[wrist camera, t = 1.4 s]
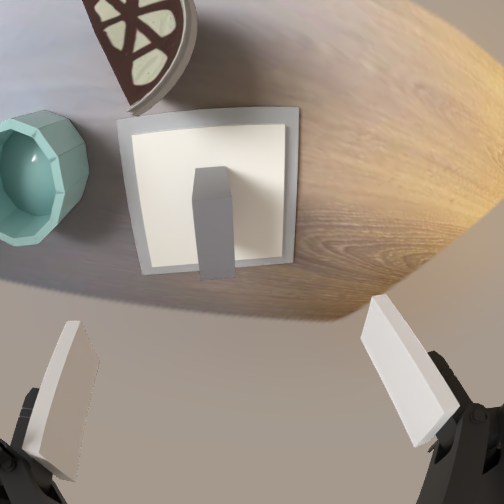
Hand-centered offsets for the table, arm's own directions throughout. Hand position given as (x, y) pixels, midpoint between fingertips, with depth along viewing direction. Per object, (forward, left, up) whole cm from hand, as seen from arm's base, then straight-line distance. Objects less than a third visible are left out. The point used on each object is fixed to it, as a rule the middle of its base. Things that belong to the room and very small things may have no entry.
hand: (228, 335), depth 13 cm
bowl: (-17, +5, -18) cm, 25 cm away
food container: (-4, +15, -18) cm, 24 cm away
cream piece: (0, 0, -18) cm, 18 cm away
